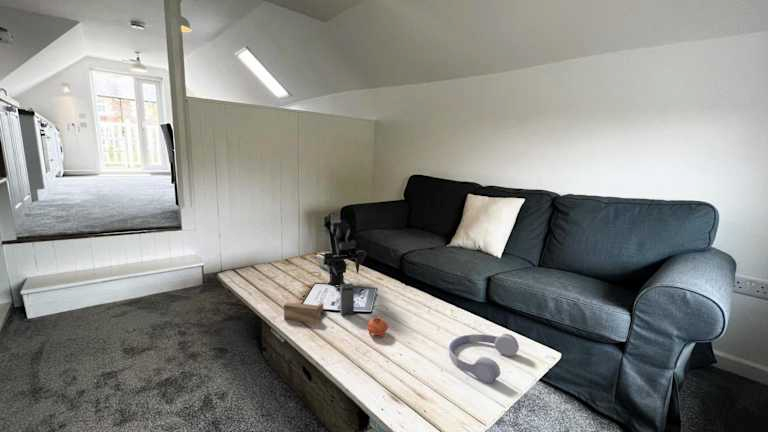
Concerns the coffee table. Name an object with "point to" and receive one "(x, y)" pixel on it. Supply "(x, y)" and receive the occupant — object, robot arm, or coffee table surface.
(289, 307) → the brown wooden frame
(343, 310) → the stepped grey pillar
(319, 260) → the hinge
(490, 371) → the headphones
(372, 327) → the pot
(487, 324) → the coffee table surface
